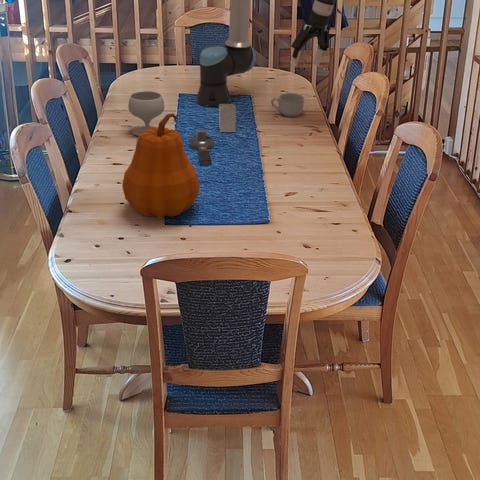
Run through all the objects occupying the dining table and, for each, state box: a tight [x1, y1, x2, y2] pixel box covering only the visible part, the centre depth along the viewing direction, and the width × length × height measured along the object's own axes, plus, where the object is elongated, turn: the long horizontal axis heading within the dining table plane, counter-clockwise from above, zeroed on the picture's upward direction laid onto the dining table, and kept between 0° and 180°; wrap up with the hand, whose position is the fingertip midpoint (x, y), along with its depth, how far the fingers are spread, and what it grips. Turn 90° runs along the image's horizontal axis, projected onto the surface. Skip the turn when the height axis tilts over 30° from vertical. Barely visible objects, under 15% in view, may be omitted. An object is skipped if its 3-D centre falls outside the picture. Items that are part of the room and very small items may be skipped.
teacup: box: [270, 92, 305, 118], centre depth 319 cm, size 14×11×8 cm
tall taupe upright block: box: [218, 103, 237, 134], centre depth 299 cm, size 6×6×10 cm
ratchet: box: [189, 129, 214, 166], centre depth 278 cm, size 24×9×6 cm, turn 7°
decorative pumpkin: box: [121, 113, 201, 219], centre depth 229 cm, size 24×24×30 cm
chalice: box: [127, 91, 165, 137], centre depth 294 cm, size 14×14×15 cm
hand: (304, 65), depth 299 cm, fingers open, 13 cm apart
